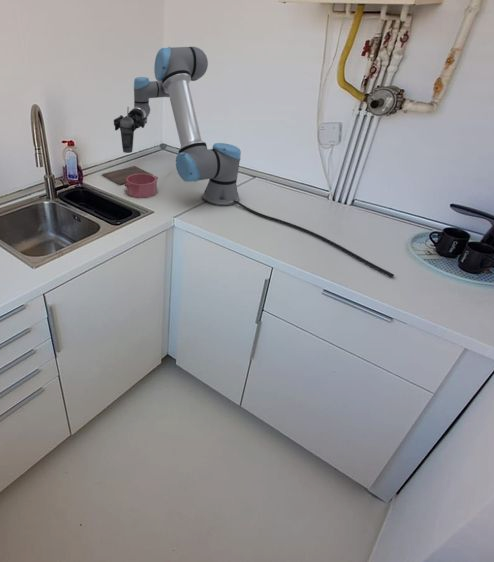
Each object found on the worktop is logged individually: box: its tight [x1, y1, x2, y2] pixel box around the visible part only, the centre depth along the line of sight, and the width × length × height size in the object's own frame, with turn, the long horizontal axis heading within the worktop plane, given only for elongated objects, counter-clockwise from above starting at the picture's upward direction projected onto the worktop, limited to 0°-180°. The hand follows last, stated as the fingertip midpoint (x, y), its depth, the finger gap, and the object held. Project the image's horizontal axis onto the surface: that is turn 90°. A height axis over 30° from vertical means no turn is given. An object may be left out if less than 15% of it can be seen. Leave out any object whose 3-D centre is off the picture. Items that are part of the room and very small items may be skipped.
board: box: [102, 165, 153, 186], centre depth 187 cm, size 16×20×1 cm
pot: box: [124, 173, 159, 199], centre depth 170 cm, size 14×17×6 cm
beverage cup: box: [119, 106, 135, 154], centre depth 173 cm, size 7×7×20 cm
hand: (124, 127), depth 168 cm, fingers closed on beverage cup, 7 cm apart
